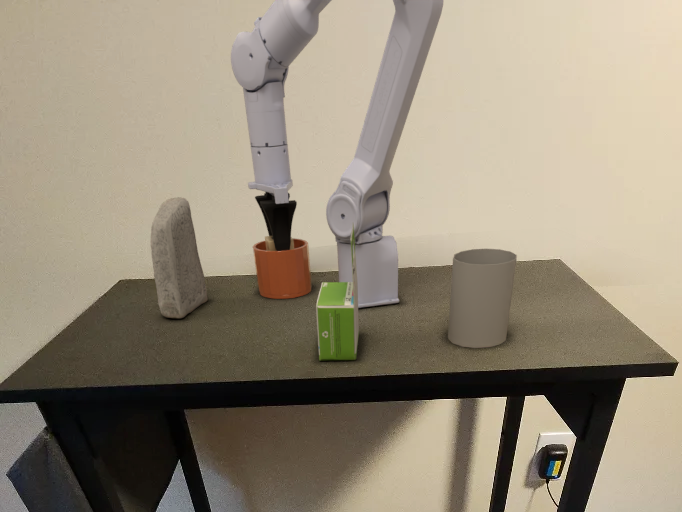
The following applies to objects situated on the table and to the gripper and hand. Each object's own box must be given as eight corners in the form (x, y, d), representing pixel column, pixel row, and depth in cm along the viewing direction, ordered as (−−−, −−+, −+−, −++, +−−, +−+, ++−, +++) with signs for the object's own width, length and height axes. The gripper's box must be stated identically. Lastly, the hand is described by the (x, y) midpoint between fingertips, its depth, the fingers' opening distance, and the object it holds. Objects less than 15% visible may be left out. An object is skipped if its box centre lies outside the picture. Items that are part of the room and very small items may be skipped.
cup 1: (305, 281, 108) (301, 235, 103) (316, 295, 102) (312, 247, 97) (256, 286, 107) (249, 241, 102) (263, 301, 100) (257, 253, 96)
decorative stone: (188, 321, 95) (162, 207, 84) (154, 320, 96) (124, 207, 85) (213, 300, 102) (193, 193, 91) (181, 299, 103) (157, 193, 92)
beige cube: (290, 254, 103) (288, 233, 100) (295, 260, 100) (293, 238, 98) (267, 256, 102) (264, 235, 100) (271, 262, 99) (268, 241, 97)
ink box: (324, 335, 88) (316, 222, 78) (360, 334, 87) (356, 221, 77) (319, 362, 80) (308, 241, 70) (357, 361, 80) (352, 239, 70)
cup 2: (469, 352, 81) (476, 268, 74) (436, 334, 86) (440, 255, 79) (518, 339, 83) (530, 257, 76) (484, 323, 89) (492, 245, 81)
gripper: (237, 142, 95) (251, 242, 104) (249, 152, 85) (263, 261, 94) (280, 138, 96) (290, 237, 105) (297, 148, 86) (306, 256, 95)
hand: (280, 248), depth 100 cm, fingers closed on beige cube, 4 cm apart
